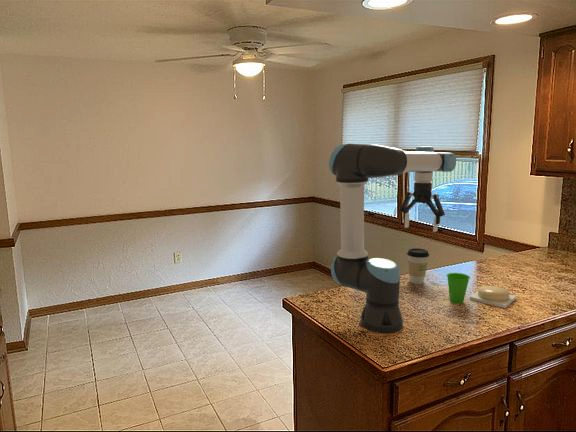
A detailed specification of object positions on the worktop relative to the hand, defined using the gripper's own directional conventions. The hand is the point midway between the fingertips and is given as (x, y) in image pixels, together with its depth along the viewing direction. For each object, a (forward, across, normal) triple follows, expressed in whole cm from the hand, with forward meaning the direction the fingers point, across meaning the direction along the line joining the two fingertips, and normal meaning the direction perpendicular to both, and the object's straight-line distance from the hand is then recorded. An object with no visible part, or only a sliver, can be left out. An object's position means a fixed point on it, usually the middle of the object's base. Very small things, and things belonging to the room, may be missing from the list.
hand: (420, 229), depth 198 cm
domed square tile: (+26, -32, -4) cm, 41 cm away
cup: (+26, -21, +8) cm, 35 cm away
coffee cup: (+26, +2, -4) cm, 27 cm away
